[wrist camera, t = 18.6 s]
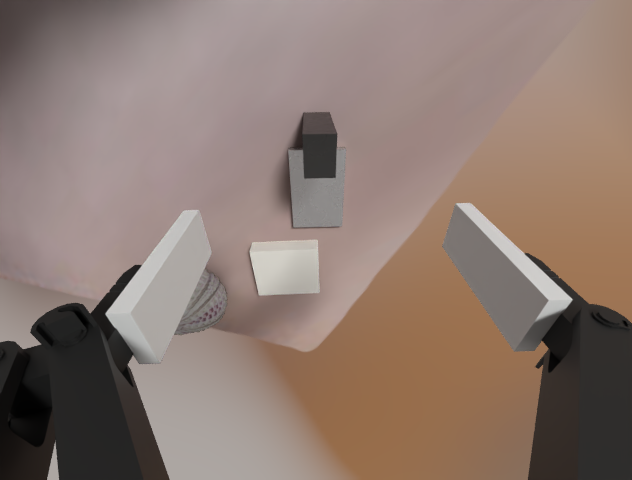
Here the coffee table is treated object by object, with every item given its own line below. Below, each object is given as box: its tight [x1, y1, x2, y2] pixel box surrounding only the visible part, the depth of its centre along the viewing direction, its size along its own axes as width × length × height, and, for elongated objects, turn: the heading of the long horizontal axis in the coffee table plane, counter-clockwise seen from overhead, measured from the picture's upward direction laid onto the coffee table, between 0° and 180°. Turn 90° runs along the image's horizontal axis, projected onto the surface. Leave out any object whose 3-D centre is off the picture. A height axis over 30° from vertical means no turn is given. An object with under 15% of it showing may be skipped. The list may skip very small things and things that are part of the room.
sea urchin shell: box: [174, 269, 227, 335], centre depth 44 cm, size 13×14×8 cm
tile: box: [250, 240, 320, 296], centre depth 44 cm, size 10×3×9 cm
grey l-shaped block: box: [288, 112, 346, 227], centre depth 32 cm, size 7×15×10 cm, turn 1°
